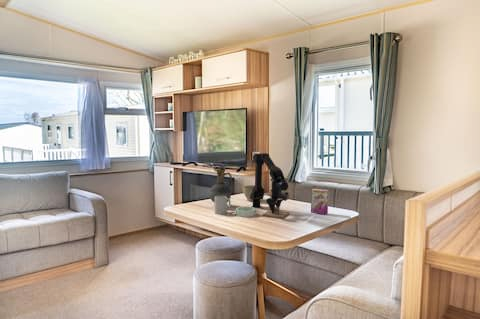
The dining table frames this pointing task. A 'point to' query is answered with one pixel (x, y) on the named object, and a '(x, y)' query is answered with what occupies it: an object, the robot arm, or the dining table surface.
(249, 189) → the planter bowl
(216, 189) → the pitcher
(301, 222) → the dining table surface
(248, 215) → the sage dish
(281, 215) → the walnut lid
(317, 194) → the candy bar box
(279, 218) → the rubber mat
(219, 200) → the mug
